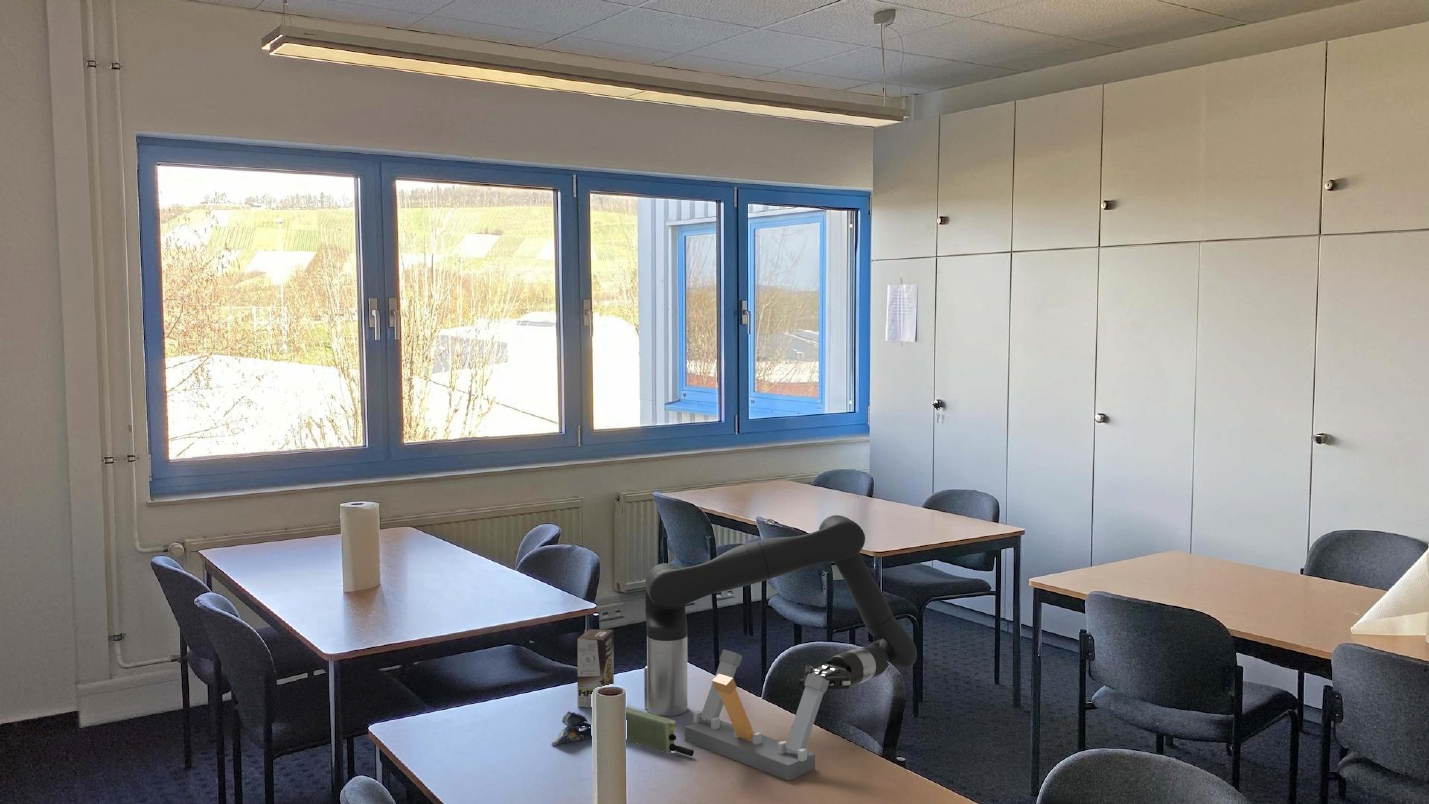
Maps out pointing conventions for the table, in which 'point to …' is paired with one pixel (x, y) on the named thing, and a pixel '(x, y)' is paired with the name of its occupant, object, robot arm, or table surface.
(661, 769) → the table surface
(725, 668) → the left paddle
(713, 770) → the table surface
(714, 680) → the orange paddle
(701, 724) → the pegged base beam
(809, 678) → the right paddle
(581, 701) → the coffee box
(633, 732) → the handheld radio
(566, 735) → the snack package
